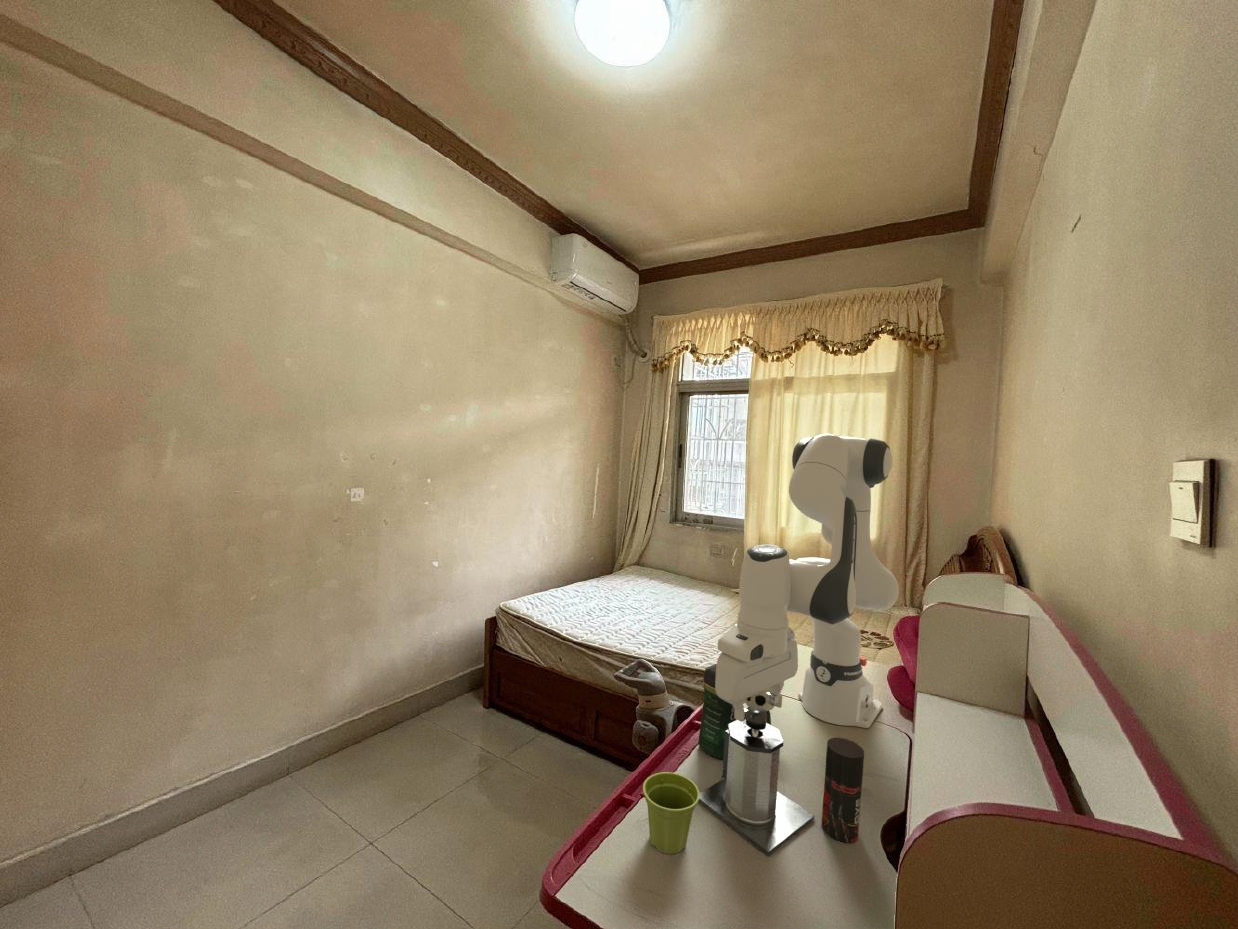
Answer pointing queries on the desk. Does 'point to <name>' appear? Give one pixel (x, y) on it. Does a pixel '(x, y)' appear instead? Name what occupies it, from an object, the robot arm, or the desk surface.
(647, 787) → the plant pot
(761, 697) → the character mug
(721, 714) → the coffee jar
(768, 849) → the silver octagonal canister
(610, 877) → the desk surface
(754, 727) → the domed grey knob
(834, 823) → the deodorant
